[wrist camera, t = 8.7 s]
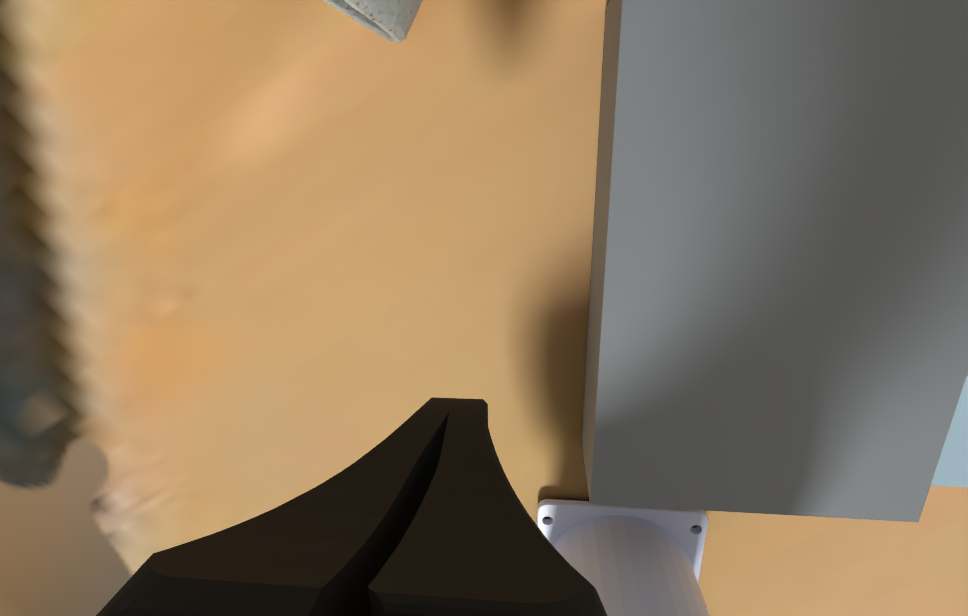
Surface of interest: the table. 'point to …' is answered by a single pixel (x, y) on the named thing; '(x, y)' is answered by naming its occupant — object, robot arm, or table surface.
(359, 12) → the ceramic mug
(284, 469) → the table surface
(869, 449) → the plate
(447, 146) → the table surface
